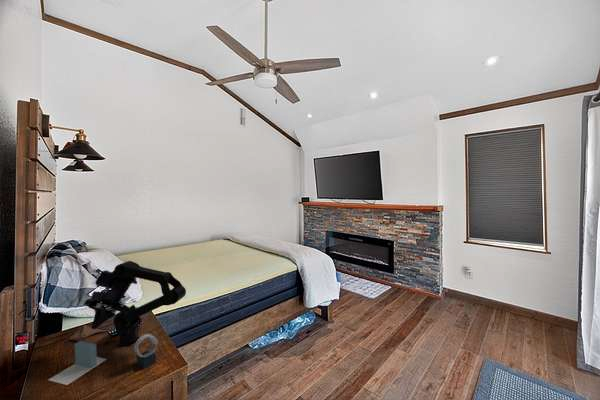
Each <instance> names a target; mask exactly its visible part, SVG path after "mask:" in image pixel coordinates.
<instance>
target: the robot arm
mask: <svg viewBox="0 0 600 400" xmlns="http://www.w3.org/2000/svg"><path fill="white" fill-rule="evenodd" d="M137 279H140V280H145V281H150V282H154V283H159V285H160V289H161V294H162V295H160V296H159V297H157V298H155V299H152V300H150V301H148V302H146V303H144V304H142V305H139V306H136V305H135V304H132V305H131V306H128V305H126V304H125V303H121V301H122V299H126V297H127V296H126V293H127V291H128V290H129V289H130V286H131V285H132V284H133V285H134V284H135V285H137V284H138V280H137ZM95 285H96V287H101V288H105V289H107V290H105V291H92V295H91V297H90V298H87V299H86V300H85V301H84V303H83V305H84V306H86V307H87V308H89V309H92V310H94V317H93V321H92V324H91V328H92V329H98V327H100V326H101V325H103V324H104V323H105V322H106V321H108V320H110V319H112V317H113V325H114V328H115V331H116V333H117V334H119V338H118V339H119V340H118V342H117V346H123V347H127V348H128V347H131V346H132V345H135V343H136V341H137V340H138V339H139V338H140V337H141V336H140V337H139V325H141V324H142V321H143V319H142V316H144V315H146V314H147V313H150V312H152V311H154V310H157V309H158V308H160V307H163V306H171V305H174V304H176V303H178V302H179V301H181V300H182V299H183V298H184V297H185V296H186V293H187V290H186V287H184V285H183V284H182V283H181V281H179V279H177V278H176V277H174V276H173V273H171V272H169V271H162V270H157V269H152V268H148V267H143V266H140V264H138V263H137V262H134V261H132V260H127V261H125V262H121V263H120V264H117V265H115V267H114V269H113V271H109V270H102V271H101V273H100V274H99V276H98V277H97V278H96V280H95ZM170 285H171V286H172V289H171V288H170Z"/></svg>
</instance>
